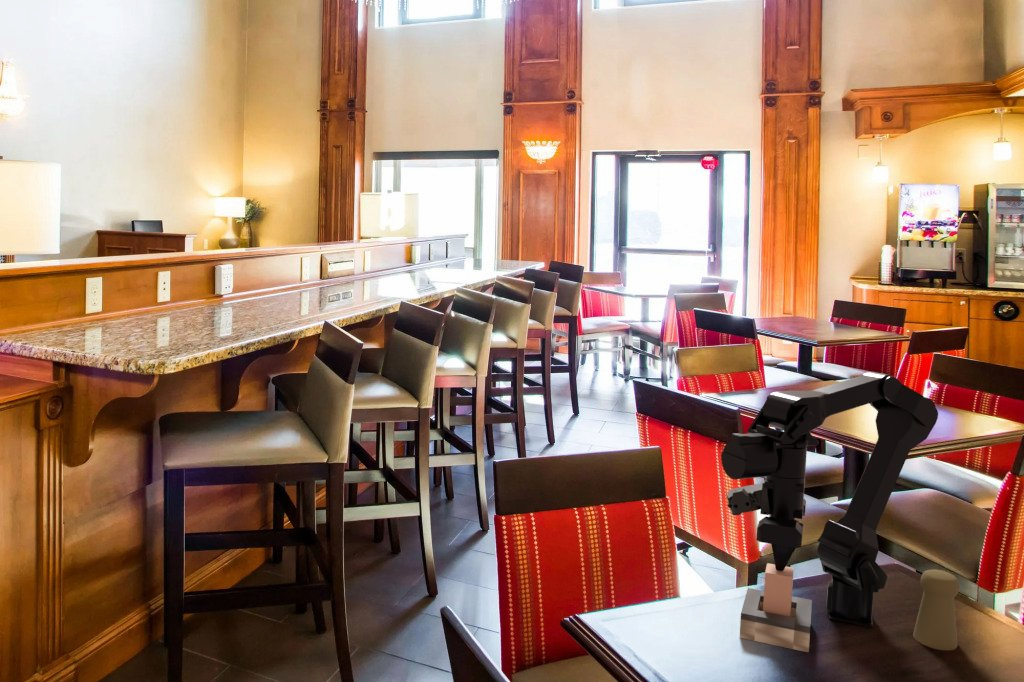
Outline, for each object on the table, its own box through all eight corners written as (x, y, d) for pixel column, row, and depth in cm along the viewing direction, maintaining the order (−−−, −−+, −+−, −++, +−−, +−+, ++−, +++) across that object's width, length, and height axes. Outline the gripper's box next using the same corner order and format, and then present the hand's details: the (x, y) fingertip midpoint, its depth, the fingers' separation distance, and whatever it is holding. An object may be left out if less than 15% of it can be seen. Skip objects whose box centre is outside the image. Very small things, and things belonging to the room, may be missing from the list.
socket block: (810, 623, 118) (812, 600, 117) (808, 652, 108) (810, 627, 108) (746, 610, 122) (747, 587, 121) (739, 637, 112) (740, 613, 112)
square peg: (789, 627, 116) (793, 567, 115) (788, 638, 112) (792, 577, 111) (763, 622, 118) (767, 563, 117) (761, 633, 114) (765, 572, 113)
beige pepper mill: (964, 652, 109) (970, 583, 108) (920, 647, 111) (926, 578, 110) (948, 633, 115) (954, 567, 114) (907, 628, 117) (912, 563, 115)
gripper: (738, 454, 124) (734, 541, 126) (724, 482, 107) (718, 582, 109) (808, 462, 120) (802, 552, 121) (804, 492, 103) (797, 597, 104)
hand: (779, 569), depth 114 cm, fingers closed
